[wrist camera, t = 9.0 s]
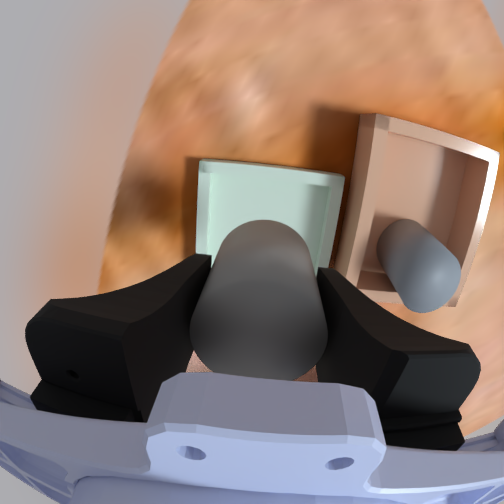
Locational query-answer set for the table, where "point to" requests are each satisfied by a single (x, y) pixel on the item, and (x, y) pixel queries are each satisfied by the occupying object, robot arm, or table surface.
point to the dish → (412, 197)
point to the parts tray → (267, 203)
